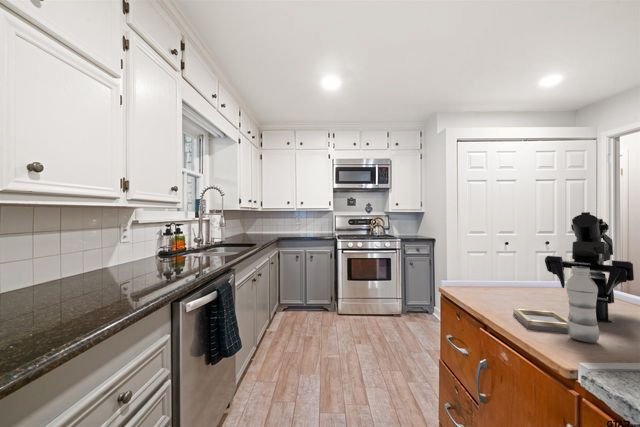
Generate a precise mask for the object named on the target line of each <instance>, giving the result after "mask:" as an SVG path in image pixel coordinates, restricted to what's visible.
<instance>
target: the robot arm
mask: <svg viewBox="0 0 640 427" xmlns="http://www.w3.org/2000/svg"><path fill="white" fill-rule="evenodd" d="M571 222H572V223H571V231H572V232H573V234H574V236H575V237H576V239H575V241H572V248H571V249H572V250H571V251H572V252H571V254H572V256H571V259H572V260H573V261H570V260H563V257H562V256H557V255H547V256H546V257H545V258H544V262H545V267H546V271H547V272H549V273H551V274H552V275H556V276H557V278H558V280H559V282H560V285H561V288H562V289H565V287H566V283H565V279H566V278H565V277H566V276H565V268H566V269H572V267H573V266H578V267H587V268H590V273H591V275H589V277H590V278H591V279H592V280H593V281H594V282H595V284H596V285H597V287H598V292H597V293H598V294H597V300H596V308H595V309H596V318H597V322H607V323H613V320H612V319H610V318H609V317H610V316H609V305H610V304H615V294H614V289H615V288H616V287H617V286H618V285H619V284H621V283H627V282H628V281H629V282H632V281H634V280H635V278H634V277H635V275H634V274H635V273H634V272H635V271H634V264H633V262H631V261H628V260H627V261H626V260H613V259H612V260H611V258H612V257H611V256H614V244H613V242H614V241H613V239H612V238H611V237H610V236H609V235H607V234H606V233H607V232H608V230H610V227H609V224H608V223H607V221H604V220H603V218H598V217H597V216H595V215H593V214H591V212H588V211H587V212H581V213H580V214H579V215H576V216H574V217H573V218H572V219H571ZM610 260H611V264H609V265H608V264H605V262H607V261H610ZM606 273H609V274H608V278H607V277H606V276H607V275H606Z"/></svg>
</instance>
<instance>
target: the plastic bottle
mask: <svg viewBox="0 0 640 427" xmlns="http://www.w3.org/2000/svg"><path fill="white" fill-rule="evenodd" d="M570 273H571V274H572V276H570V277H569V278H568V280H567V281H566V283H565V289H566V294H567V295H566V296H567V298H568V318H567V319H568V322H567V332H566V333H567V334H568V336H569V337H570V338H572V339H574V340H576V341H580V342H583V343H584V342H585V343H592V344H593V343H597V342H598V341H599V340H600V336H601V332H600V328H599V325H598V321H597V318H596V309H595V308H596V300H597V294H598V293H597V292H598V287H597V285H596V284H595V282H594V281H593V280H592V279H591V278H590V277H589V275H591V273H590V268H587V267H578V266H573V267H572V268H571V272H570Z"/></svg>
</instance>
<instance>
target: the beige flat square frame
mask: <svg viewBox="0 0 640 427" xmlns="http://www.w3.org/2000/svg"><path fill="white" fill-rule="evenodd" d="M512 315H513V316H514V317H515V319H517V320H518V321H519V322H520V323H522V325H523V326H524V327H525V328H527V330H528V329H530V330H539V331H549V332H557V333H558V332H559V333H568V332H567V322H568V318H566V317H565V316H563V315H561V314H560V313H559V312H556V311H554V310H553V311H552V310H551V311H550V310H542V309H541V310H538V309H527V308H526V309H524V308H513V314H512Z"/></svg>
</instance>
